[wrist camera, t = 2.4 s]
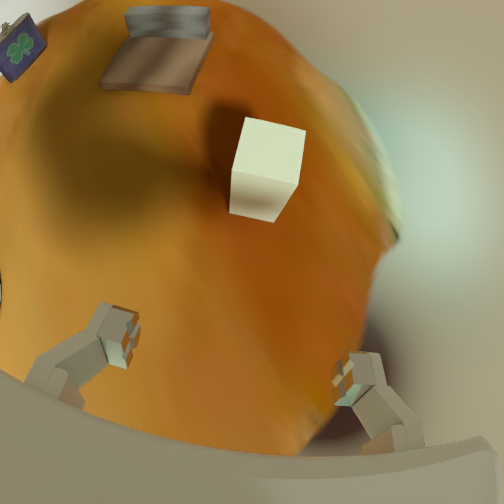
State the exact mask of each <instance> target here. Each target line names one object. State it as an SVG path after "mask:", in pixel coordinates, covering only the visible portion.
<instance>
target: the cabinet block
mask: <svg viewBox="0 0 504 504" xmlns="http://www.w3.org/2000/svg"><path fill="white" fill-rule="evenodd" d="M305 134H306V131H304V130H301V129H297V128H293V127H289V126H285V125H280V124H276V123H272V122H267V121H263V120H258V119H253V118H248V117H245V121H244V125H243V128H242V132H241V136H240V140H239V144H238V148H237V152H236V155H235V159H234V163H233V167H232V175H231V190H230V207H229V213H231V214H236V215H241V216H246V217H250V218H255V219H260V220H264V221H269V222H273V223H274V221H275V220H276V218H277V217H278V215H279V214H280V212H281V210H282V209H283V207H284V206H285V204H286V203H287V201H288V200H289V198H290V197H291V195H292V193H293V192H294V190H295V189H296V187H297V186H298V181H299V175H300V168H301V162H302V155H303V148H304V141H305Z"/></svg>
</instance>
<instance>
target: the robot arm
mask: <svg viewBox="0 0 504 504" xmlns="http://www.w3.org/2000/svg"><path fill="white" fill-rule="evenodd" d="M0 300H1V286H0ZM138 319H139V315H138V312H136V311H132V310H129V309H126V308H122V307H119V306H116V305H113V304H109V303H106V302H102V303H100V304H99V306H98V308H97V309H96V311H95V313H94V315H93V317H92V318H91V320H90V322H89V324H88V326H87V327H86V329H85V331H84V332H82V331H80V332H78V333H77V334H75V335H73V336H72V337H70V338H68V339H66V340H65V341H63V342H61V343H60V344H58V345H56V346H55V347H53V348H51V349H49V350H48V351H46V352H44V353H43V354H41V355H39V356H38V357H37V358H36V360H35V362H34V364H33V366H32V367H31V369H30V371H29V373H28V375H27V377H26V379H25V381H24V382H22V381H20V380H18V379H17V378H15V377H13V376H11V375H10V374H8V373H6V372H5V371H3V370H1V369H0V504H503V485H502V475H501V467H500V461H499V458H498V454H497V452H496V451H495V450H494V448H493V447H492V446H491V445H490V444H489V442H488V441H487V440H486V439H485V438H484V437H482V436H473V437H470V438H466V439H462V440H458V441H454V442H450V443H445V444H441V445H436V446H431V447H425V444H424V438H423V433H422V428H421V423H420V421H419V420H418V419H417V418H416V416H415V415H414V414H413V413H412V412H411V411H410V409H409V408H408V407H407V406H406V404H405V403H404V402H403V401H402V400H401V399H400V397H399V396H398V395H397V394H396V393H395V392H394V390H393V389H392V388H391V387H390V386H387V383H386V379H385V374H384V370H383V366H382V361H381V357H380V355H379V354H378V353H368V352H361V351H349V350H346V351H344V352H343V353H342V354H341V359H340V360H338V361H336V363H335V364H334V366H333V369H332V373H331V381H332V383H333V385H334V386H335V388H334V390H333V391H332V392H333V402H334V405H340V406H352V409H353V410H354V412H355V414H356V415H357V417H358V418H359V420H360V422H361V423H362V424H363V426H364V428H365V430H366V431H367V433H368V434H369V436H370V437H371V439H372V440H370V441H369V442H367V443H366V444H364V445H363V446H362V455H361V456H360V455H359V456H335V457H307V456H283V455H269V454H258V453H249V452H240V451H233V450H226V449H220V448H214V447H208V446H202V445H197V444H192V443H188V442H183V441H178V440H174V439H170V438H166V437H162V436H158V435H154V434H151V433H147V432H144V431H140V430H137V429H134V428H130V427H127V426H124V425H121V424H118V423H115V422H112V421H109V420H107V419H104V418H101V417H98V416H96V415H93V414H91V413H88V412H85V411H83V407H84V404H85V400H84V398H83V397H82V395H81V394H80V392H79V390H78V389H79V388H80V387H82V386H83V385H84V384H85V383H87V382H88V381H89V380H90V379H92V378H93V377H94V376H95V375H97V374H98V373H99V372H100V371H102V370H103V369H104V368H105V367H107V366H108V364H110V365H114V366H117V367H121V368H124V369H128V367H129V365H130V362H131V360H132V357H133V354H132V350H133V349H134V348H136V347H137V344H138V341H139V337H140V325H139V324H138V322H137V321H138Z"/></svg>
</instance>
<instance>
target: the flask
mask: <svg viewBox="0 0 504 504" xmlns="http://www.w3.org/2000/svg"><path fill="white" fill-rule="evenodd" d="M8 24H9V23H8ZM8 24H7V22H5V23H4V24H2V27H1V28H2V32H1V34H0V72H1V73H2V74H3V75H4V77H5V78H6V79H7V80H8V81H9V82H10V83H14V82H15V81H16V80H17V79H18V78H19V77H20V76H21V75H22V74H23V73H24V72H25V71H26V70H27V69H28V68H29V67H30V66H31V64H32V63H33V62H34V61H35V60H36V59H37V58H38V56H39V55H40V54H41V53H42V52H43V51H44V49H45V48H46V46H47V45H46V42H45V40H44V39H43V37H42V35H41V34H40V32H39V30H38V28H37V27H36V25H35V23H34V22H33V20H32V18H31V16H30V14H29V13H25V14H23V15H22V16H21V17H19V18H18V20H16V21H15V23H14V24H12V25H8Z"/></svg>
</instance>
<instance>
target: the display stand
mask: <svg viewBox="0 0 504 504" xmlns="http://www.w3.org/2000/svg"><path fill="white" fill-rule="evenodd" d="M124 17H125V20H126V24H127V27H128V31H129V34H130V35H129V36H128V37H127V39H126V40H125V42H124V43H123V45H122V46H121V47H120V49H119V50H118V52H117V53H116V55H115V56H114V58H113V60H112V61H111V63H110V64H109V66H108V67H107V69H106V71H105V72H104V74H103V76H102V77H101V79H100V81H99V82H98V83H99V85H100V87H101V89H102V90H134V91H150V92H163V93H173V94H183V95H189V94H190V92H191V89H192V87H193V85H194V82H195V80H196V78H197V75H198V73H199V71H200V69H201V66H202V64H203V62H204V60H205V58H206V55H207V53H208V51H209V49H210V47H211V45H212V43H213V41H214V32H210V7H199V6H138V7H130V8H129V10H128V11H127V12H126V13H125V14H124Z"/></svg>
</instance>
